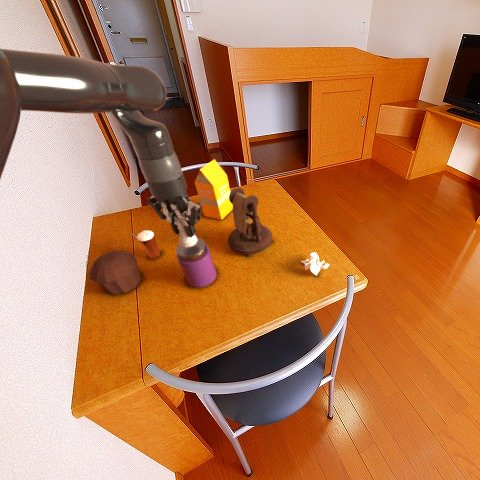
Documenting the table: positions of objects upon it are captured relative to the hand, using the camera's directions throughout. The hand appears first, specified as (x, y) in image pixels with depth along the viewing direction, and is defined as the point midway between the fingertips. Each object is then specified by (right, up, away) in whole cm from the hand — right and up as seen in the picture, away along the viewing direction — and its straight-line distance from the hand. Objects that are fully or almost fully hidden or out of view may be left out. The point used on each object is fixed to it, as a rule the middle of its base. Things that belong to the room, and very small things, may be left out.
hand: (185, 233), depth 71 cm
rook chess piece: (0, -3, +2) cm, 3 cm away
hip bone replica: (+33, -11, +15) cm, 38 cm away
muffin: (-22, -14, +9) cm, 28 cm away
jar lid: (0, -4, +3) cm, 5 cm away
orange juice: (-5, +9, +37) cm, 38 cm away
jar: (-1, -13, +11) cm, 17 cm away
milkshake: (-19, -7, +17) cm, 27 cm away
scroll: (+11, -3, +23) cm, 26 cm away
